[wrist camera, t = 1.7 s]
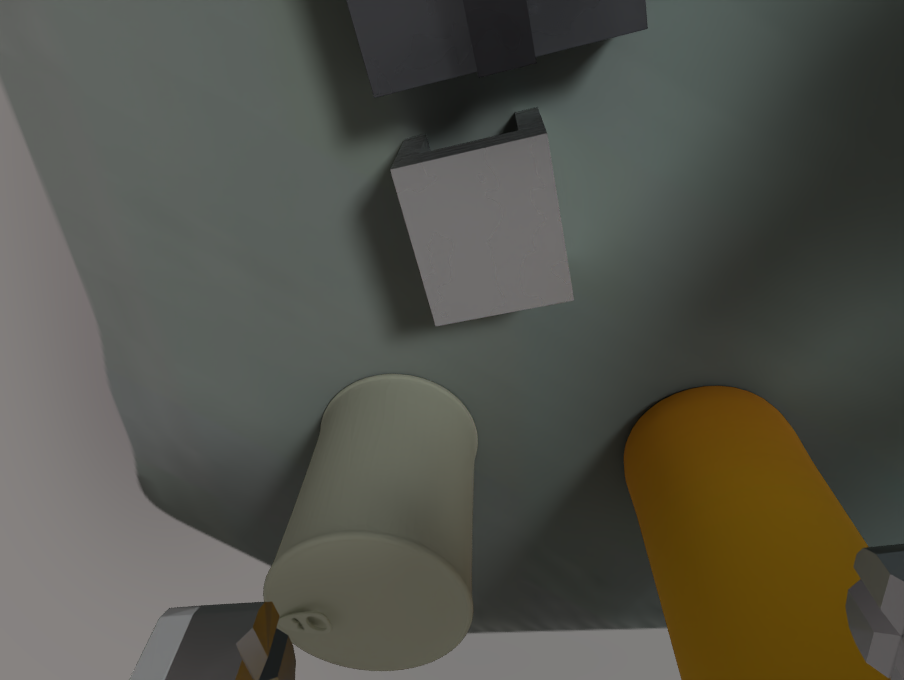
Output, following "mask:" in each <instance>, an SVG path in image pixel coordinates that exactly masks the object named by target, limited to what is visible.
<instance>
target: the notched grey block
mask: <svg viewBox="0 0 904 680" xmlns="http://www.w3.org/2000/svg"><path fill="white" fill-rule="evenodd" d="M515 116H516V121H517V127H518V131H513V132H509V133H505V134H501V135H496V136H492V137H488V138H484V139H479V140H475V141H471V142H467V143H462V144H458V145H454V146H449V147H445V148H441V149H437V150H432V151H431V150H430V147H429V143H428V139H427V135H426V134H422V135H418V136H414V137H409V138H405V139H404V141H403V143H402V145H401V148H400V150H399V152H398V154H397V156H396V158H395V160H394V163H393V165H392V167H391V169H390V171H391V174H392V178H393V181H394V185H395V188H396V192H397V195H398V199H399V202H400V205H401V209H402V212H403V216H404V219H405V223H406V226H407V229H408V233H409V236H410V240H411V243H412V247H413V250H414V253H415V257H416V260H417V264H418V267H419V271H420V274H421V277H422V281H423V284H424V288H425V291H426V295H427V298H428V302H429V305H430V308H431V312H432V315H433V319H434V322H435V326H441V325H446V324H451V323H456V322H462V321H467V320H472V319H478V318H483V317H488V316H494V315H499V314H504V313H509V312H515V311H520V310H525V309H531V308H536V307H541V306H547V305H552V304H557V303H562V302H568V301H573V300H574V297H573V290H572V284H571V278H570V272H569V266H568V259H567V253H566V247H565V241H564V235H563V229H562V222H561V216H560V210H559V204H558V198H557V191H556V185H555V179H554V173H553V167H552V161H551V154H550V148H549V142H548V136H547V132H546V129H545V126H544V123H543V120H542V118H541V115H540V112H539V109H538V107H535V108H530V109H526V110H522V111H518V112H515Z"/></svg>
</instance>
